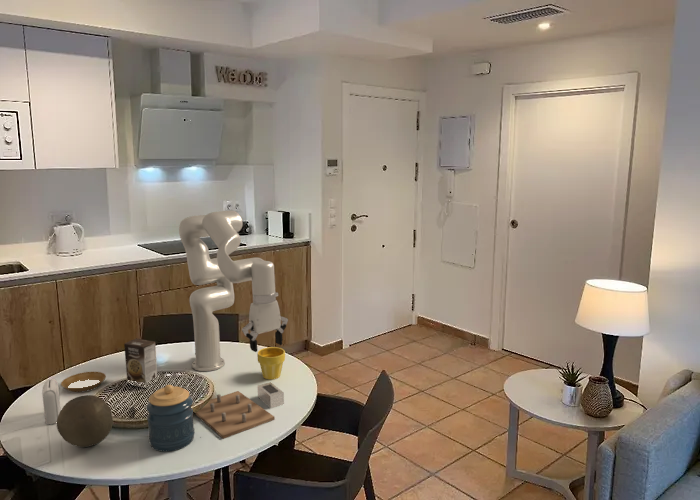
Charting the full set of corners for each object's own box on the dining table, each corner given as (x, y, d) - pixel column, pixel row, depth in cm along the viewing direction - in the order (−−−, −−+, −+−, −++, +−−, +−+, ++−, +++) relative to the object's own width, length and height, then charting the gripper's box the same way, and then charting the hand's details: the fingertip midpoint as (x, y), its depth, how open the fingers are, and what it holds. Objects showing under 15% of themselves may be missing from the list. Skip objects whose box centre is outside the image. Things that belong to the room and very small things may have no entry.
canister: (195, 448, 156) (191, 391, 153) (147, 455, 152) (143, 397, 149) (194, 426, 168) (191, 373, 165) (150, 432, 165) (146, 378, 161)
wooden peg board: (189, 409, 179) (189, 399, 179) (238, 393, 191) (237, 384, 190) (223, 438, 161) (222, 428, 161) (274, 419, 173) (274, 409, 172)
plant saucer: (51, 392, 192) (51, 385, 192) (83, 375, 206) (82, 369, 206) (85, 397, 188) (84, 390, 187) (115, 380, 202) (114, 374, 201)
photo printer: (46, 412, 177) (42, 376, 175) (61, 409, 179) (57, 374, 177) (44, 426, 168) (40, 389, 166) (60, 423, 170) (56, 386, 168)
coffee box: (126, 385, 197) (123, 343, 194) (139, 378, 203) (136, 337, 200) (146, 389, 194) (142, 346, 191) (158, 382, 200) (155, 340, 197)
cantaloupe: (79, 431, 165) (74, 386, 162) (123, 434, 164) (119, 388, 161) (49, 457, 151) (44, 408, 149) (97, 460, 150) (92, 411, 147)
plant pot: (288, 379, 202) (288, 354, 200) (261, 383, 198) (260, 358, 197) (281, 368, 212) (281, 345, 210) (255, 372, 208) (254, 348, 206)
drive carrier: (257, 397, 188) (257, 385, 187) (270, 394, 191) (270, 381, 190) (270, 409, 180) (270, 395, 179) (284, 404, 183) (283, 392, 182)
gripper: (280, 291, 188) (282, 338, 191) (235, 301, 177) (238, 350, 180) (292, 295, 182) (294, 344, 185) (246, 305, 171) (249, 356, 174)
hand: (266, 347), depth 182 cm, fingers open, 9 cm apart
